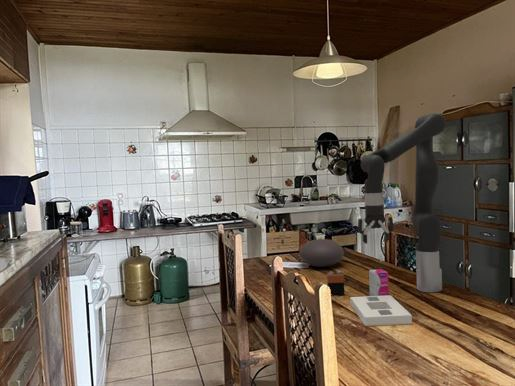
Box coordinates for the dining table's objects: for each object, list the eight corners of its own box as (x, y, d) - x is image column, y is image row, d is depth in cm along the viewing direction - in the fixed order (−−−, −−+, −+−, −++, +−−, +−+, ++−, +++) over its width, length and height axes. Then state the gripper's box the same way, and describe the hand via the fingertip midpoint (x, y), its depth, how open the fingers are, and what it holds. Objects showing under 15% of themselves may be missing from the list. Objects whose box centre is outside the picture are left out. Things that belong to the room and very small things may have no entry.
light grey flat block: (390, 302, 157) (390, 294, 157) (411, 323, 135) (411, 314, 135) (350, 304, 157) (350, 296, 157) (365, 326, 136) (364, 316, 135)
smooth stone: (291, 264, 229) (290, 239, 229) (327, 258, 240) (326, 234, 239) (315, 273, 207) (314, 245, 206) (353, 266, 217) (352, 239, 217)
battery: (344, 295, 169) (343, 272, 169) (328, 296, 170) (327, 273, 169) (343, 292, 173) (342, 270, 173) (327, 292, 174) (326, 270, 173)
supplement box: (376, 301, 160) (375, 273, 159) (369, 296, 166) (368, 269, 165) (389, 299, 161) (388, 271, 161) (381, 295, 167) (380, 268, 166)
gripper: (388, 202, 167) (389, 240, 168) (354, 204, 167) (356, 242, 168) (394, 203, 160) (396, 243, 160) (359, 205, 160) (361, 245, 160)
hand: (375, 242), depth 164 cm, fingers open, 8 cm apart
